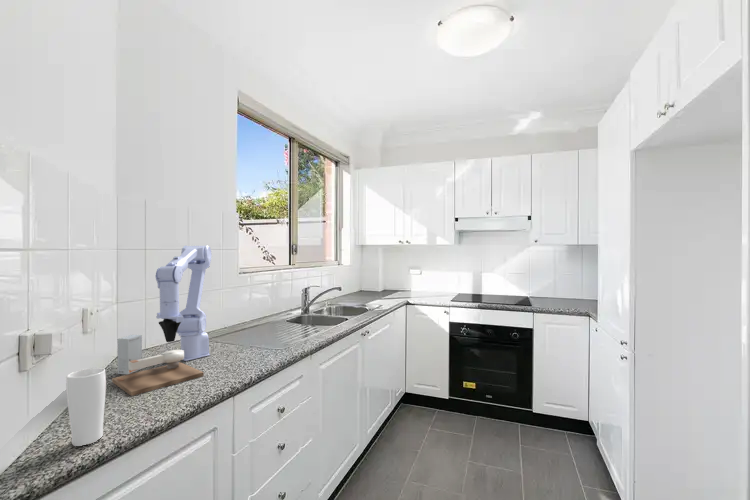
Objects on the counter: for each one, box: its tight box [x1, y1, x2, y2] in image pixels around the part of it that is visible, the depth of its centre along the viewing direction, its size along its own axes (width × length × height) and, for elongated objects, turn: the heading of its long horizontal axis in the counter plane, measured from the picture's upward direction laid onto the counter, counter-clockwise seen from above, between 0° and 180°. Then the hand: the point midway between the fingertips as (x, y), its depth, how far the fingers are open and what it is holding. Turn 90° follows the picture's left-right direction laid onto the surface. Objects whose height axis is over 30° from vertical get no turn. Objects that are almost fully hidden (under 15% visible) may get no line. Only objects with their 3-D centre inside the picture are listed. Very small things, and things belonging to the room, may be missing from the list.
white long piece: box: [129, 349, 184, 371], centre depth 122 cm, size 16×7×3 cm, turn 144°
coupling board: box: [111, 361, 205, 397], centre depth 118 cm, size 20×18×4 cm
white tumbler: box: [65, 367, 107, 447], centre depth 79 cm, size 7×7×15 cm
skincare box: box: [117, 334, 143, 375], centre depth 125 cm, size 6×4×12 cm
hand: (170, 341), depth 124 cm, fingers closed
